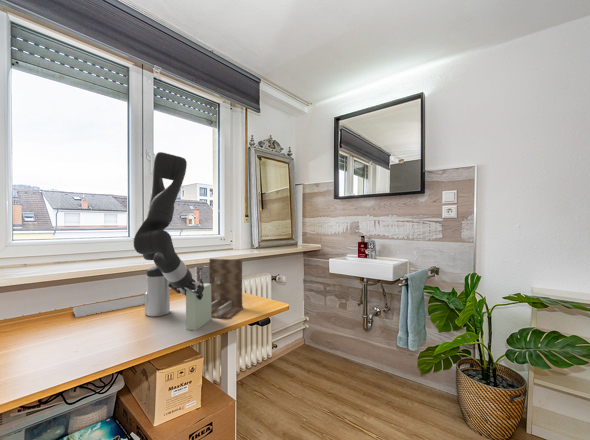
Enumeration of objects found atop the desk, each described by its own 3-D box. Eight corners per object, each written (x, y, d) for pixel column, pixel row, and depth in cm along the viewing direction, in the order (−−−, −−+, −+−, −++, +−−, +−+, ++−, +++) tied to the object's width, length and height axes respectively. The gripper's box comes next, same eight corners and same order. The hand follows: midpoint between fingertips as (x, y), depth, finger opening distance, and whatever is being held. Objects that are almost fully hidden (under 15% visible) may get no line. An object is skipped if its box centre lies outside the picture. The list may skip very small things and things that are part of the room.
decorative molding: (73, 318, 129) (75, 318, 122) (73, 308, 130) (75, 307, 123) (153, 303, 152) (159, 302, 145) (153, 294, 153) (158, 292, 146)
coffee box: (213, 296, 154) (213, 266, 154) (202, 298, 150) (201, 268, 150) (205, 293, 161) (205, 264, 161) (194, 295, 156) (194, 266, 156)
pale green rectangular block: (184, 329, 109) (184, 290, 108) (201, 318, 120) (200, 283, 120) (195, 330, 108) (195, 291, 107) (211, 319, 119) (211, 283, 119)
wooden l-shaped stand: (194, 316, 123) (194, 263, 123) (211, 305, 138) (211, 258, 138) (228, 319, 120) (228, 264, 120) (242, 308, 134) (242, 259, 134)
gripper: (198, 264, 100) (215, 289, 112) (163, 262, 103) (183, 288, 115) (190, 282, 95) (208, 307, 107) (153, 280, 98) (175, 304, 110)
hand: (195, 297), depth 111 cm, fingers closed on pale green rectangular block, 4 cm apart
